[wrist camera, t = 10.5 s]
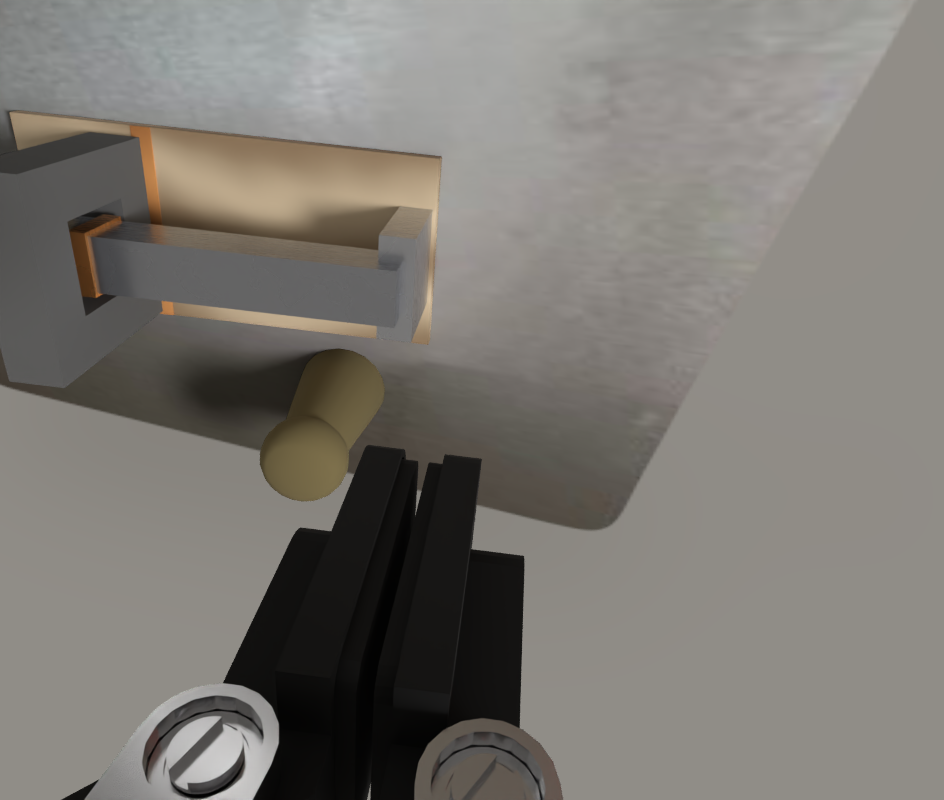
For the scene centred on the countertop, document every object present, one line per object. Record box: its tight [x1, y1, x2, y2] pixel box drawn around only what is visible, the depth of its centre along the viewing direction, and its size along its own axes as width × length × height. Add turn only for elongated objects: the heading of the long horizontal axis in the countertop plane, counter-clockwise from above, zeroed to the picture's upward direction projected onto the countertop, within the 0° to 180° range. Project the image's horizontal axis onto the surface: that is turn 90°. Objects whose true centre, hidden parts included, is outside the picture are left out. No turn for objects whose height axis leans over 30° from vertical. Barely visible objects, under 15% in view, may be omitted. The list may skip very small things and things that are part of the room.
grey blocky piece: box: [67, 206, 433, 343], centre depth 41 cm, size 6×26×8 cm, turn 85°
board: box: [10, 110, 442, 345], centre depth 45 cm, size 12×26×1 cm, turn 85°
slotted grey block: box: [0, 132, 163, 388], centre depth 39 cm, size 11×3×11 cm, turn 175°
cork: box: [260, 349, 385, 501], centre depth 45 cm, size 6×6×11 cm
